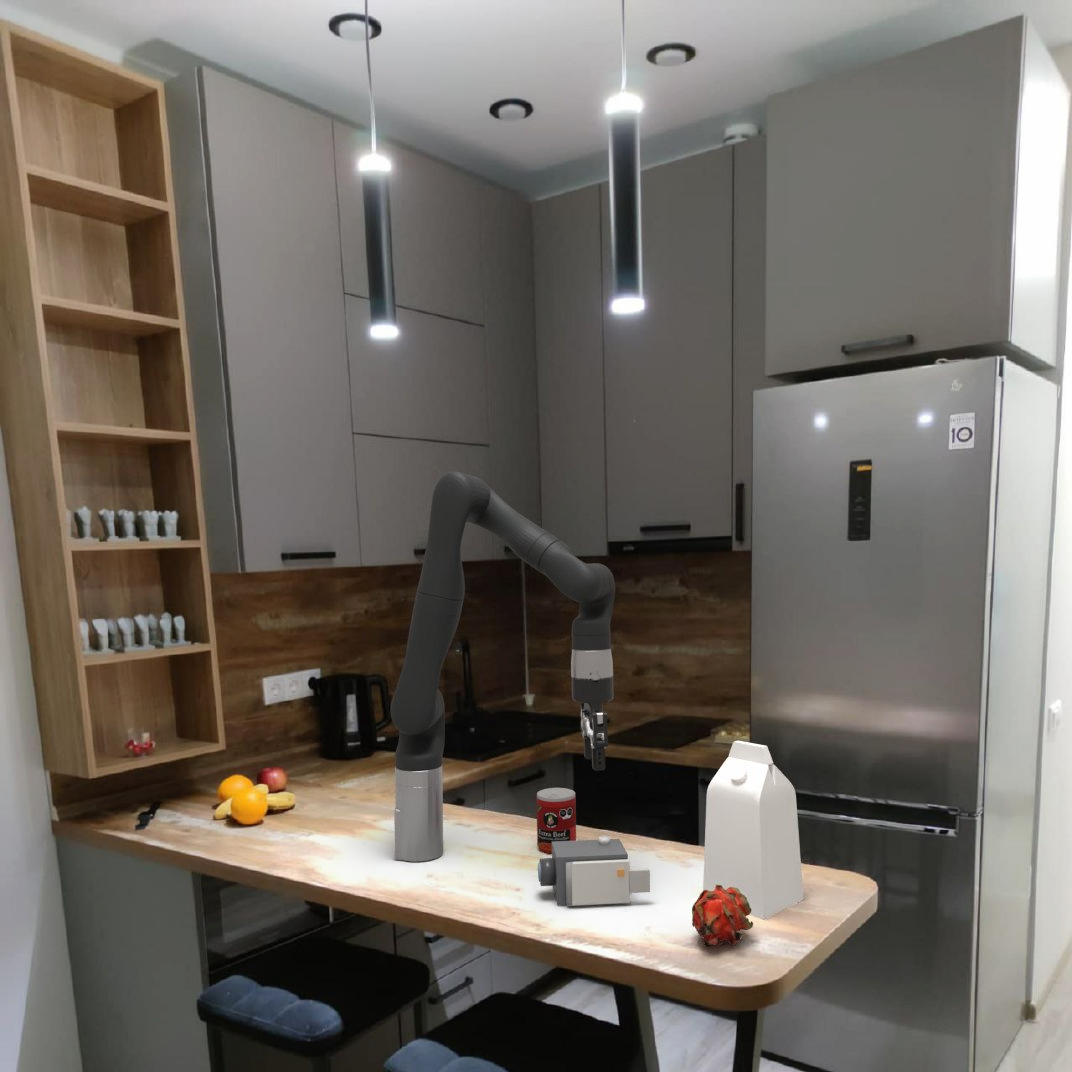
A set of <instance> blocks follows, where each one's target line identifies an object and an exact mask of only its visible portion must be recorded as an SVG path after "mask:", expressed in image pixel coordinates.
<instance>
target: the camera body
mask: <svg viewBox="0 0 1072 1072" xmlns="http://www.w3.org/2000/svg"><path fill="white" fill-rule="evenodd" d="M624 859H629V854H628V852H627V850H626V848H625V847H624V845H623V843H622V842H621V839H620V838H611V837H610V836H609V835H599V836H598V839H581V840H580V839H579V840H577V839H576V841H554V842H552V855H551V857H546V858H542V857H541V858H539V860H538V863H537V877H538V878H537V879H538V883H539V884H540V887H551V888H552V891H553V895H554V899H555V902H557V903H556V906H557V905H558V907H560V906H559V905H565V906H567V905H566V862H579V861H602V860H624Z"/></svg>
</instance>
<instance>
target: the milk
mask: <svg viewBox="0 0 1072 1072" xmlns="http://www.w3.org/2000/svg"><path fill="white" fill-rule="evenodd" d="M730 747H731V748H730V750H729V754H728V757H727V758H726V759H725V761H724V762H723V763H722V765H721V766H720V768H719V769H718V771H717V772H716V774H715V775H714V776H713V777H712V779H711V781H710V783H709V784H708V787H707V790H706V806H705V831H704V832H705V833H704V855H703V857H704V858H703V862H704V863H703V880H702V881H703V883H702V884H703V886H702V892H703V891H704V890H708V891H714V890H715V887H716V885H722V887H723V888H724V889H725V890H727V889H728V888H730V887H735V888H738V889H739V891H740V893H741V894H743V895H744V896H745V897H746V898H747V901H748V903H749V906H750V908H751V909H752V910H751V913H750V914H749V915H748V916H752V917H754V918H757V919H760V920H766V919H768V918H770V917H772V916H774V915H776V914H778V913H780V912H782V911H784V910H786V909H785V908H787V909H788V907H789V908H791V907H792V905H793V904H795V903H796V902H799V901H801V900H803V899H804V889H803V875H802V861H801V848H800V847H801V846H800V834H799V821H798V820H799V819H798V808H797V795H796V789H795V787H794V786H793V784H792V783H791V781H790V780H789V778H787V777H786V776H785V774H783V772H782V771H781V770H780V769H779V768H778V767H777V766H776V765H775V764H774V761H773V758H772V755H771V753H770V751H769V748H768V745H764V744H758V743H753V742H749V741H743V740H742V741H741V740H735V741H733V742H732V745H731V746H730ZM803 901H804V900H803ZM801 902H802V901H801ZM799 903H800V902H799ZM795 905H796V904H795ZM790 906H791V907H790ZM793 906H794V905H793ZM783 909H784V910H783ZM775 913H776V914H775Z"/></svg>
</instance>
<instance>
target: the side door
mask: <svg viewBox="0 0 1072 1072" xmlns="http://www.w3.org/2000/svg"><path fill="white" fill-rule="evenodd" d="M630 865H631V863H630V859H629V858H628V859H624V860H602V861H579V862H566V905H565V906H567V907H572V906H573V907H574V906H591V905H593V906H594V905H611V904H630V903H631V894H638V893H650V892H651V870H650V868H649V867H643V868H642V867H641V868H640V867H639V868H631V867H630Z"/></svg>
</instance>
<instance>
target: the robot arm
mask: <svg viewBox="0 0 1072 1072" xmlns="http://www.w3.org/2000/svg"><path fill="white" fill-rule="evenodd" d="M466 523H471V524H473V525H476V526H477V527H480V528H482V529H485V530H486V531H488V532H491V533H492V534H494V536H496V537H498V538H499V539H500V540H502V542H503V543H505V544H506V545H507V547H508V548H509V549H510V550H511V551H512V552H513V553H514V554H515V555H516V556H517V557H518V558H519V559H521V560H522V561H524V562H525V563H526V564H527V565H529V566H530V567H531V568H534V569H535V570H536V571H538V572H539V573H541V574H542V575H544V576H546V577H547V578H548V579H549V581H550V582H551V583H552V584H553V586H555V587H556V588H557V589H558V590H559V591H560V592H561V593H562V594H564V595H565V596H566V597H567V598H569V599H570V600H573V601H574V602H577V603H579V609H578V610H579V611H578V614H577V616H576V617H575V618H574V619H573V620H572V624H571V658H570V659H571V660H570V671H571V673H570V676H571V698H572V699H571V700H573V701H574V702H577V703H580V704H579V706H580V732H581V735H582V739H583V747H584V748H583V749H584V750H583V751H584V752H583V753H584V759H586V760H591V763H592V764H591V766H592V769H593V770H594V772H595V771H604V770H606V749H607V748H608V747H609V736H608V735H609V733H608V731H609V730H608V713H607V711H604V709H603V703H608V702H611V701H612V700H614V696H615V695H614V665H613V664H614V662H613V656H612V649H611V648H612V644H611V643H612V642H611V641H612V640H611V620H612V615H613V611H614V610H613V609H614V602H615V595H616V585H615V584H616V583H615V579H614V575H613V573H612V571H611V570H610V569H609V568H608V566H606V565H604V564H602V563H595V562H593V563H586V562H584V561H582V560H581V559H579V558H578V557H576V556H575V555H574V554H573V552H572V549H571V548H570V547H569V545H568V544H566V543H565V542H564V541H562V540H561V539H560V538H558V537H556V536H555V535H554V534H552V533H551V532H549V531H547V530H546V529H543V528H542V527H540V526H539V525H537V524H536V523H534V522H533V521H531V520H530V519H528V518H527V517H525V516H524V515H522V514H521V513H520V512H518V511H516V510H515V509H514V508H513V507H511V506H510V505H509V504H508V503H507V502H505V501H504V500H503V498H502V497H500V496H499V495H498V494H497V492H496V491H494V490H493V489H492V488H491V487H490V486H489V485H488V484H487V483H486V482H485V481H484V480H482V479H481V478H479V477H478V476H475V475H471V474H467V473H464V472H459V471H449V472H447V473H445V474H443V475H442V476H441V477H440V478H439V479H438V481H437V483H436V485H435V487H434V490H433V493H432V497H431V504H430V516H429V524H428V525H429V526H428V534H427V535H428V536H427V542H426V546H425V551H424V557H423V562H422V568H421V573H420V578H419V581H418V585H417V589H416V593H415V599H414V603H413V608H412V614H411V620H410V627H409V632H408V636H407V644H406V651H405V652H406V653H405V658H404V661H403V662H404V663H403V666H402V668H401V673H400V675H399V679H398V682H397V685H396V689H395V691H394V694H393V697H392V700H391V704H390V717H391V721H392V722H393V723H392V724H393V725H394V726H395V728H396V729H397V730H398V731H399V733H398V742H397V743H398V744H397V746H396V750H395V754H394V792H395V795H394V796H395V797H394V798H395V799H394V800H395V802H394V803H395V805H394V806H395V807H394V811H393V814H394V819H393V820H394V860H400V861H405V862H415V863H416V862H427V861H431V860H435V859H439V858H440V857H441V856H442V855H443V854H444V808H443V807H444V798H443V797H444V796H443V793H444V792H443V787H444V786H443V754H444V749H445V739H446V737H445V736H446V735H445V734H446V733H445V731H446V727H445V726H446V725H445V723H446V717H445V716H446V715H445V714H446V712H445V711H446V710H445V707H446V706H445V701H444V696H443V694H442V692H441V690H440V689H439V688H438V687H439V682H440V675H441V671H442V667H443V664H444V661H445V658H446V656H447V653H448V651H449V649H450V646H451V644H452V642H453V640H454V637H455V635H456V631H457V628H458V625H459V623H460V617H461V614H462V610H463V605H464V604H463V603H464V599H465V595H466V594H465V593H466V592H465V591H466V586H465V585H466V584H465V582H466V581H465V575H464V568H463V561H462V551H461V549H462V542H463V536H464V531H465V527H466ZM598 738H601V739H598Z"/></svg>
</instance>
